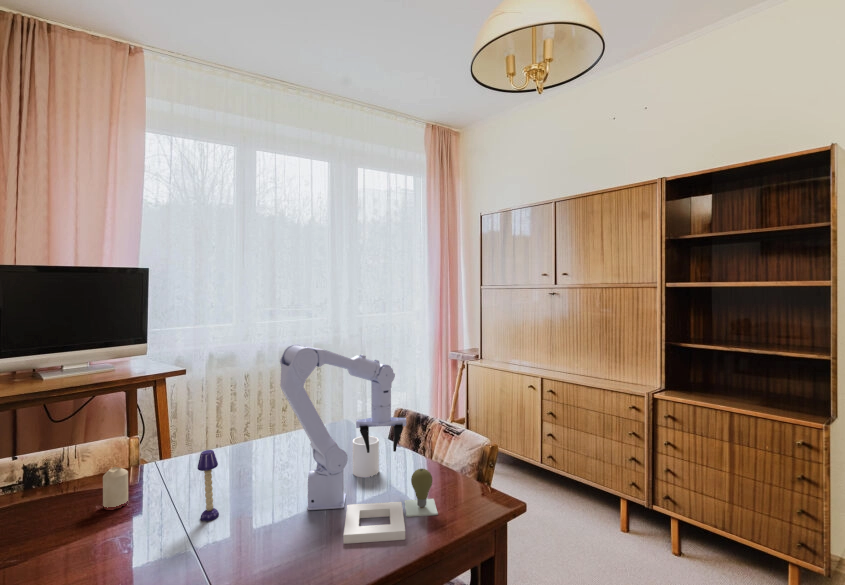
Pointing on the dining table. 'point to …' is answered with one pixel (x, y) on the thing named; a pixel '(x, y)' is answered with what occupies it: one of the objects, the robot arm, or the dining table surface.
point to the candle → (115, 487)
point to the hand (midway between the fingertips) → (381, 451)
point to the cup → (365, 457)
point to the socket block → (374, 532)
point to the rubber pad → (415, 510)
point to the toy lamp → (208, 483)
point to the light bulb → (421, 485)
